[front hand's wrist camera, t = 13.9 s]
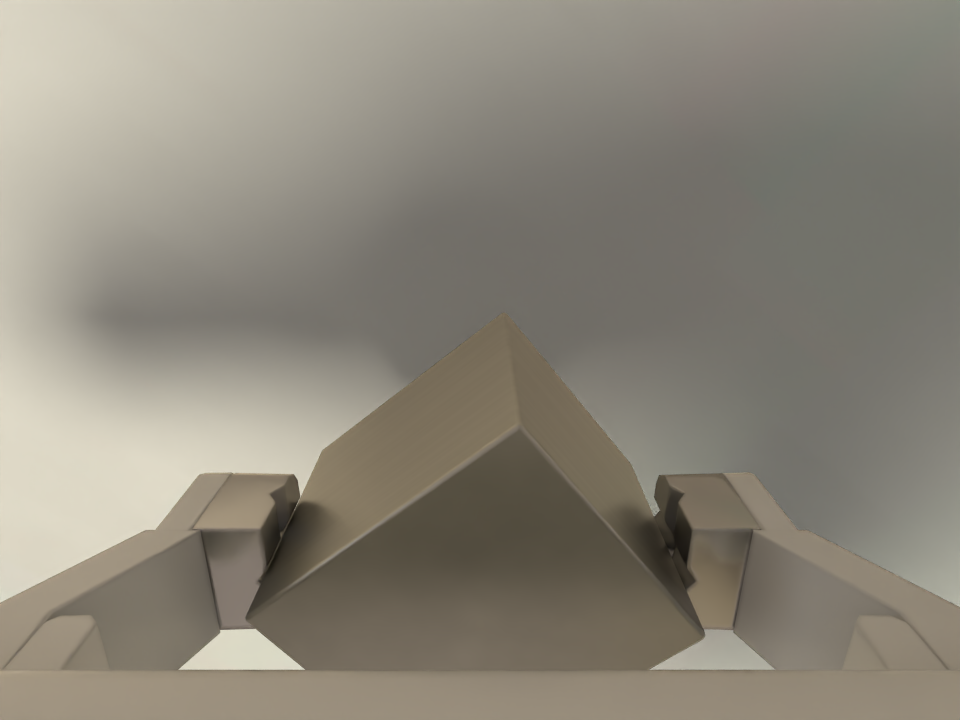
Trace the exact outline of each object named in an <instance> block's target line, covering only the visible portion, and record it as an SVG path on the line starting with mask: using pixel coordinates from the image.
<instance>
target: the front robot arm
mask: <svg viewBox="0 0 960 720" xmlns="http://www.w3.org/2000/svg"><path fill="white" fill-rule="evenodd" d="M654 497H655V500H656V502H657V504H658V506H659V509H660V511H659V512H658V513H657V514H656V515H655V517H654V518H655V521H656V523H657V525H658V528H659V530H660V532H661V535H662V537H663V539H664V541H665V544H666V545H667V547H668V550H669V552H670V554H671V556H672V560H673V562H674V564H675V567H676V569H677V571H678V573H679V576H680V578H681V580H682V583H683V585H684V587H685V589H686V591H687V593H688V595H689V598H690V600H691V602H692V604H693V607H694V609H695V611H696V613H697V616H698V618H699V620H700V623H701V625H702V627H703V629H724V630H734V633H735V634H736V635H737V636H738V637H739V638H740V639H742V640H743V641H744V642H745V643H746V644H747V645H748V646H749V647H751V648H752V649H753V650H754V651H755V652H756V653H757V654H759V655H760V656H761V657H762V658H763V659H764V660H765V661H766V662H768V663H769V664H770V665H771V666H772V667H773V668H774V669H775V670H178V669H179V668H180V667H182V666H183V665H184V664H185V663H186V662H187V661H188V660H190V659H191V658H192V657H193V656H194V655H195V654H196V653H198V652H199V651H200V650H201V649H202V648H203V647H204V646H206V645H207V644H208V643H209V642H210V641H211V640H212V639H214V638H215V637H216V636H217V635H218V634H219V633H220V630H229V629H255V628H254V627H253V626H252V625H250V624H249V623H248V622H247V621H246V619H245V618H246V614H247V612H248V610H249V608H250V606H251V604H252V601H253V599H254V597H255V595H256V593H257V591H258V589H259V586H260V584H261V582H262V580H263V578H264V576H265V573H266V571H267V569H268V567H269V565H270V563H271V560H272V558H273V556H274V554H275V552H276V550H277V547H278V545H279V543H280V541H281V539H282V537H283V534H284V532H285V530H286V528H287V526H288V524H289V521H290V519H291V517H292V515H293V513H294V509H295V507H296V505H297V503H298V501H299V499H300V492H299V486H298V480H297V478H296V477H295V475H294V474H261V473H204V474H200V475H199V476H198V477H197V478H196V479H195V480H194V482H193V483H192V484H191V486H190V487H189V488H188V489H187V491H186V492H185V493H184V494H183V496H182V497H181V498H180V499H179V501H178V502H177V503H176V504H175V506H174V507H173V508H172V510H171V511H170V512H169V513H168V515H167V516H166V517H165V518H164V520H163V521H162V522H161V523H160V525H159V526H158V527H157V529H156V530H145V531H143V532H141V533H139V534H137V535H135V536H133V537H131V538H129V539H127V540H125V541H123V542H121V543H119V544H117V545H115V546H113V547H111V548H109V549H107V550H105V551H103V552H101V553H99V554H97V555H95V556H93V557H91V558H89V559H87V560H85V561H83V562H81V563H79V564H77V565H75V566H73V567H71V568H69V569H67V570H65V571H63V572H61V573H59V574H57V575H55V576H53V577H51V578H49V579H47V580H45V581H43V582H41V583H39V584H37V585H35V586H33V587H31V588H29V589H27V590H25V591H23V592H21V593H19V594H17V595H15V596H13V597H11V598H9V599H7V600H5V601H3V602H1V603H0V720H960V607H958V606H956V605H954V604H952V603H951V602H949V601H947V600H945V599H943V598H941V597H939V596H937V595H935V594H933V593H931V592H929V591H927V590H925V589H923V588H921V587H919V586H917V585H915V584H913V583H911V582H909V581H907V580H905V579H903V578H901V577H899V576H897V575H895V574H893V573H891V572H889V571H887V570H885V569H883V568H881V567H879V566H877V565H876V564H874V563H872V562H870V561H868V560H866V559H864V558H862V557H860V556H858V555H856V554H854V553H852V552H850V551H848V550H846V549H844V548H842V547H840V546H838V545H836V544H834V543H832V542H830V541H828V540H826V539H824V538H822V537H820V536H818V535H816V534H814V533H812V532H810V531H808V530H798V529H797V528H796V527H795V526H794V524H793V523H792V522H791V520H790V519H789V518H788V517H787V515H786V514H785V513H784V511H783V510H782V509H781V508H780V506H779V505H778V504H777V502H776V501H775V500H774V499H773V497H772V496H771V495H770V493H769V492H768V491H767V490H766V488H765V487H764V486H763V484H762V483H761V482H760V481H759V479H758V478H757V477H756V475H754V474H752V473H750V472H745V473H719V474H680V475H659V477H658V480H657V483H656V488H655V496H654Z"/></svg>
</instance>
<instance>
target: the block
mask: <svg viewBox="0 0 960 720" xmlns="http://www.w3.org/2000/svg"><path fill="white" fill-rule="evenodd" d="M245 619H246V621H247V622H248V623H249V624H250V625H252V626H253V627H254V628H255V629H257V630H258V631H259V632H260V633H261V634H263V635H264V636H265V637H266V638H267V639H269V640H270V641H271V642H272V643H274V644H275V645H276V646H277V647H278V648H280V649H281V650H282V651H283V652H285V653H286V654H287V655H288V656H289V657H291V658H292V659H293V660H294V661H295V662H297V663H298V664H299V665H300V666H302V667H303V668H304V669H305V670H649V669H651V668H653V667H654V666H656V665H658V664H660V663H662V662H663V661H665V660H667V659H669V658H671V657H672V656H674V655H676V654H678V653H679V652H681V651H683V650H685V649H687V648H688V647H690V646H692V645H694V644H695V643H697V642H699V641H701V640H703V639H704V638H705V632H704V629H703V627H702V625H701V623H700V620H699V618H698V616H697V613H696V611H695V609H694V607H693V604H692V602H691V600H690V598H689V595H688V593H687V591H686V589H685V587H684V585H683V583H682V580H681V578H680V576H679V573H678V571H677V569H676V567H675V564H674V562H673V560H672V556H671V554H670V552H669V550H668V547H667V545H666V544H665V541H664V539H663V537H662V535H661V532H660V530H659V528H658V525H657V523H656V521H655V518H654V515H653V513H652V511H651V509H650V506H649V504H648V502H647V500H646V497H645V495H644V493H643V490H642V488H641V486H640V484H639V481H638V479H637V477H636V474H635V472H634V470H633V468H632V465H631V464H630V462H629V461H628V460H627V459H626V458H625V456H624V455H623V454H622V453H621V451H620V450H619V449H618V448H617V447H616V445H615V444H614V443H613V442H612V441H611V439H610V438H609V437H608V436H607V434H606V433H605V432H604V431H603V430H602V428H601V427H600V426H599V425H598V424H597V422H596V421H595V420H594V419H593V417H592V416H591V415H590V414H589V413H588V411H587V410H586V409H585V408H584V407H583V405H582V404H581V403H580V402H579V400H578V399H577V398H576V397H575V396H574V394H573V393H572V392H571V391H570V390H569V388H568V387H567V386H566V385H565V384H564V382H563V381H562V380H561V379H560V377H559V376H558V375H557V374H556V373H555V371H554V370H553V369H552V368H551V367H550V365H549V364H548V363H547V362H546V360H545V359H544V358H543V357H542V356H541V354H540V353H539V352H538V351H537V350H536V348H535V347H534V346H533V345H532V343H531V342H530V341H529V340H528V339H527V337H526V336H525V335H524V334H523V333H522V331H521V330H520V329H519V328H518V326H517V325H516V324H515V323H514V322H513V320H512V319H511V318H510V317H509V316H508V314H506V313H502V314H500V315H499V316H498V317H496V318H495V319H494V320H492V321H491V322H490V323H488V324H487V325H486V326H485V327H483V328H482V329H481V330H479V331H478V332H477V333H475V334H474V335H473V336H471V337H470V338H469V339H468V340H466V341H465V342H464V343H462V344H461V345H460V346H458V347H457V348H456V349H454V350H453V351H452V352H450V353H449V354H448V355H447V356H445V357H444V358H443V359H441V360H440V361H439V362H437V363H436V364H435V365H433V366H432V367H431V368H430V369H428V370H427V371H426V372H424V373H423V374H422V375H420V376H419V377H418V378H416V379H415V380H414V381H413V382H411V383H410V384H409V385H407V386H406V387H405V388H403V389H402V390H401V391H399V392H398V393H397V394H396V395H394V396H393V397H392V398H390V399H389V400H388V401H386V402H385V403H384V404H382V405H381V406H380V407H379V408H377V409H376V410H375V411H373V412H372V413H371V414H369V415H368V416H367V417H365V418H364V419H363V420H362V421H360V422H359V423H358V424H356V425H355V426H354V427H352V428H351V429H350V430H348V431H347V432H346V433H344V434H343V435H342V436H341V437H339V438H338V439H337V440H335V441H334V442H333V443H331V444H330V445H329V446H327V447H326V448H325V449H324V450H322V452H321V454H320V457H319V459H318V461H317V463H316V465H315V467H314V470H313V472H312V474H311V476H310V478H309V480H308V483H307V485H306V487H305V489H304V491H303V493H302V496H301V498H300V500H299V502H298V504H297V506H296V508H295V511H294V513H293V515H292V517H291V519H290V521H289V524H288V526H287V528H286V530H285V532H284V534H283V537H282V539H281V541H280V543H279V545H278V547H277V550H276V552H275V554H274V556H273V558H272V560H271V563H270V565H269V567H268V569H267V571H266V573H265V576H264V578H263V580H262V582H261V584H260V586H259V589H258V591H257V593H256V595H255V597H254V599H253V601H252V604H251V606H250V608H249V610H248V612H247V614H246V618H245Z"/></svg>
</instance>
